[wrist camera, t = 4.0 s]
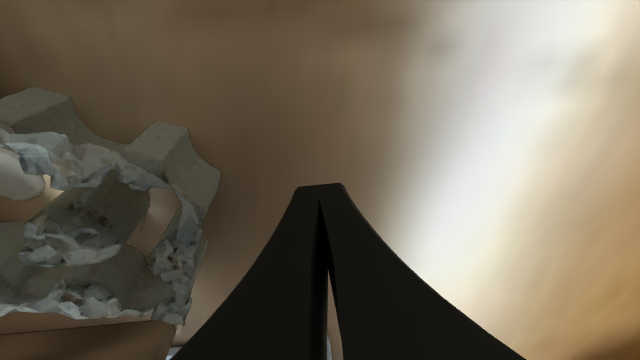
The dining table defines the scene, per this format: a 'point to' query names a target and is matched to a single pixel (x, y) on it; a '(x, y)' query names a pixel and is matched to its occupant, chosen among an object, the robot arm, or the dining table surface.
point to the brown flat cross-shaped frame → (92, 343)
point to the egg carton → (96, 215)
